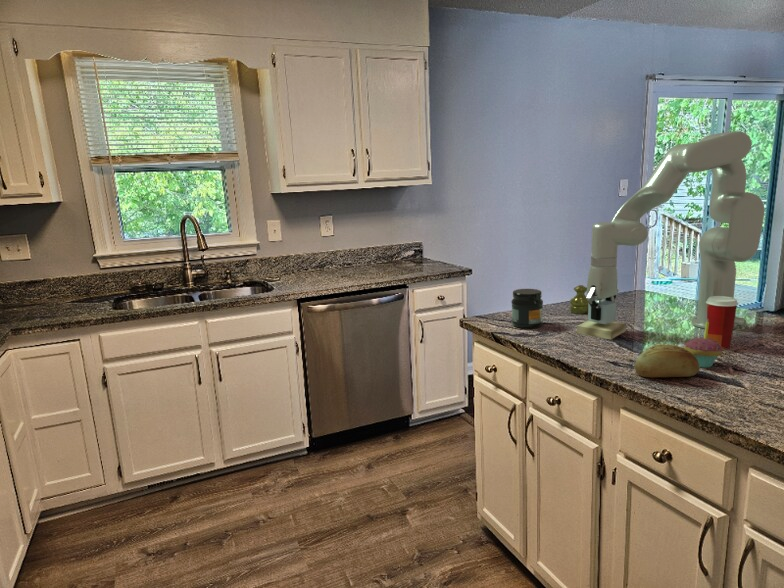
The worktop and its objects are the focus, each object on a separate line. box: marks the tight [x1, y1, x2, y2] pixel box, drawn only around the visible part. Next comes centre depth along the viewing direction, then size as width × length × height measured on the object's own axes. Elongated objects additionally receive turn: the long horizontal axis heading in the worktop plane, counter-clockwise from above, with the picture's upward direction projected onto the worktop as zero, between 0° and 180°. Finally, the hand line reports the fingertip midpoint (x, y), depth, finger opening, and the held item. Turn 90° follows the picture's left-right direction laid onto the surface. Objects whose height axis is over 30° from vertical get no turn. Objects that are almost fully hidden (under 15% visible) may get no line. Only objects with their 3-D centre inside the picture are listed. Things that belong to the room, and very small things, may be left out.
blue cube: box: [587, 299, 618, 324], centre depth 164 cm, size 6×6×6 cm
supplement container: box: [510, 288, 544, 329], centre depth 176 cm, size 10×10×12 cm
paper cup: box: [706, 296, 739, 350], centre depth 145 cm, size 8×8×14 cm
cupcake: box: [683, 319, 723, 368], centre depth 133 cm, size 9×8×12 cm
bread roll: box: [634, 344, 700, 378], centre depth 127 cm, size 10×15×8 cm, turn 84°
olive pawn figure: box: [569, 284, 589, 315], centre depth 190 cm, size 7×7×10 cm
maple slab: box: [576, 320, 627, 340], centre depth 165 cm, size 11×11×3 cm
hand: (602, 317), depth 164 cm, fingers closed on blue cube, 6 cm apart
